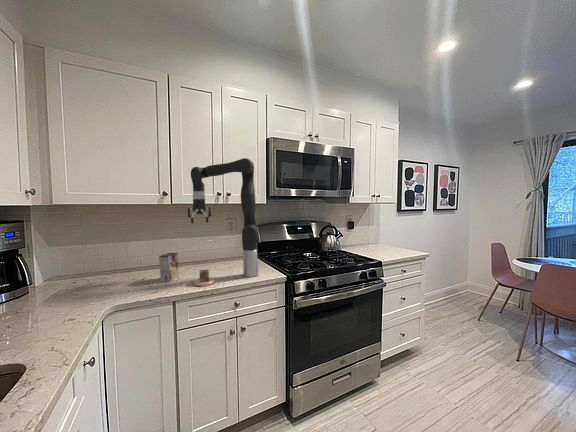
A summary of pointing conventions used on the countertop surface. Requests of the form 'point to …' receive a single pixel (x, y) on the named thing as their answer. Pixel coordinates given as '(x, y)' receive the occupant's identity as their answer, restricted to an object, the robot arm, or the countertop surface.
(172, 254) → the coffee box
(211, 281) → the dish
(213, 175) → the robot arm
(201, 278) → the walnut block
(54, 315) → the countertop surface
